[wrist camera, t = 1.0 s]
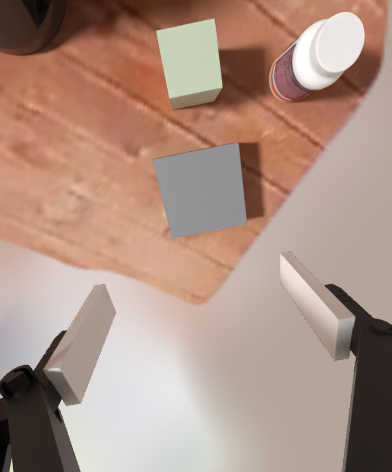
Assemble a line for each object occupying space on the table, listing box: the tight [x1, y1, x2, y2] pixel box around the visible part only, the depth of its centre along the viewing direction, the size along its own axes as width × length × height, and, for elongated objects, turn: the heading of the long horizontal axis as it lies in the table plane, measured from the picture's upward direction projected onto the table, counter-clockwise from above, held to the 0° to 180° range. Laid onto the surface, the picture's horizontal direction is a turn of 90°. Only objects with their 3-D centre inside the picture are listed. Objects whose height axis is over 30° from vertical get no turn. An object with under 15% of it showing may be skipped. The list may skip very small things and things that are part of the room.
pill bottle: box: [269, 12, 364, 102], centre depth 26 cm, size 6×6×11 cm
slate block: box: [153, 143, 247, 238], centre depth 35 cm, size 12×12×4 cm
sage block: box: [156, 19, 223, 110], centre depth 27 cm, size 6×6×8 cm
